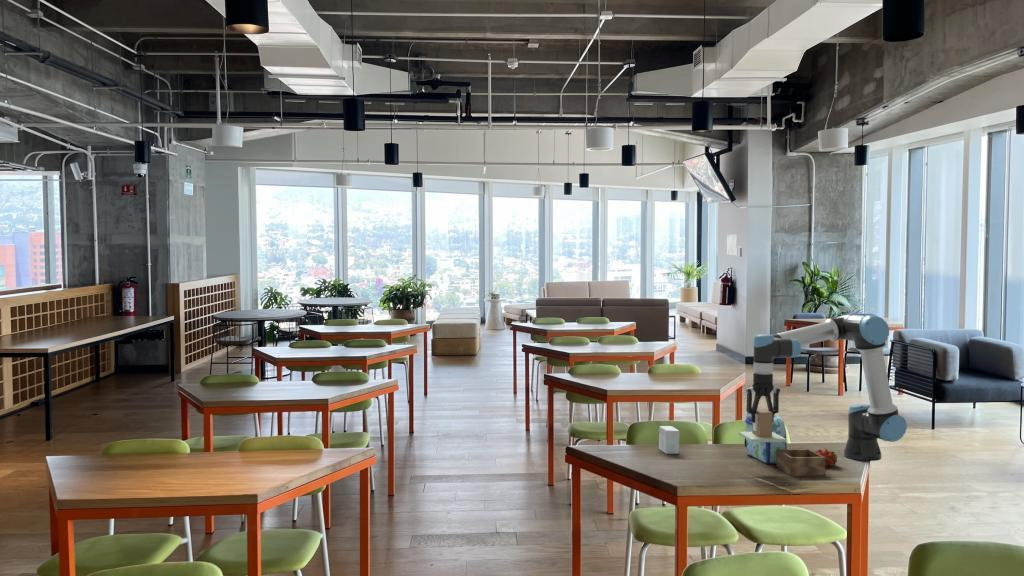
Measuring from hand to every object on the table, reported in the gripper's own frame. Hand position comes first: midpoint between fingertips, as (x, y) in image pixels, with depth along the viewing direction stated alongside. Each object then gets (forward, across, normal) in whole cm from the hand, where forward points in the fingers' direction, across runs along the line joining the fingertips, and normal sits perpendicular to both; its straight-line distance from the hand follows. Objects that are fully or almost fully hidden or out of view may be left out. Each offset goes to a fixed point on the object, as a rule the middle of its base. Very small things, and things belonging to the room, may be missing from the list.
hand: (762, 430), depth 319 cm
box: (+18, -16, 0) cm, 24 cm away
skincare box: (+18, +27, -40) cm, 51 cm away
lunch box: (+18, -10, -22) cm, 30 cm away
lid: (+3, 0, 0) cm, 3 cm away
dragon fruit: (+18, -29, -7) cm, 35 cm away
